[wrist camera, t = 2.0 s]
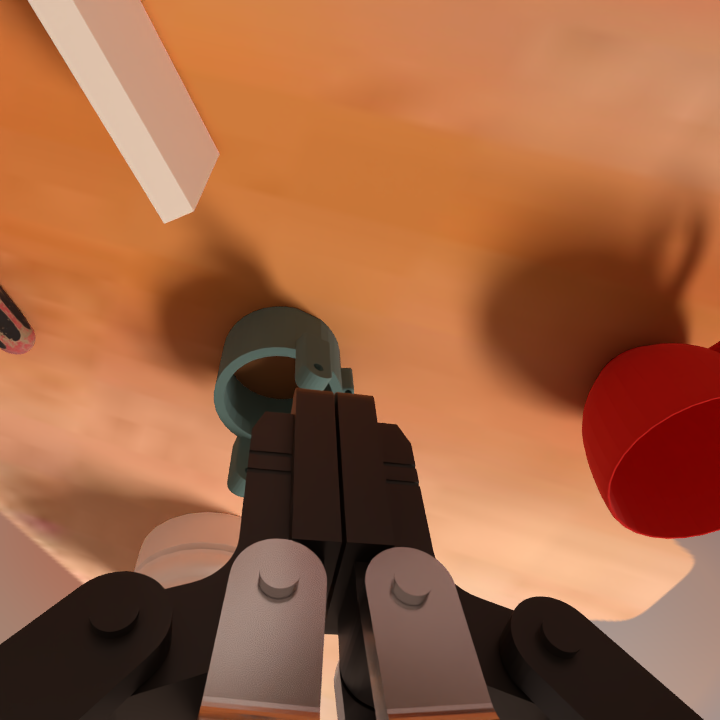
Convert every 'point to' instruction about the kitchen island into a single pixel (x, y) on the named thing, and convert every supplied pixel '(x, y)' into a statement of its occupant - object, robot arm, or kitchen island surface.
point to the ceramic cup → (658, 439)
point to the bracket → (264, 339)
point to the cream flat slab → (135, 96)
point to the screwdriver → (14, 328)
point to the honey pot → (188, 547)
